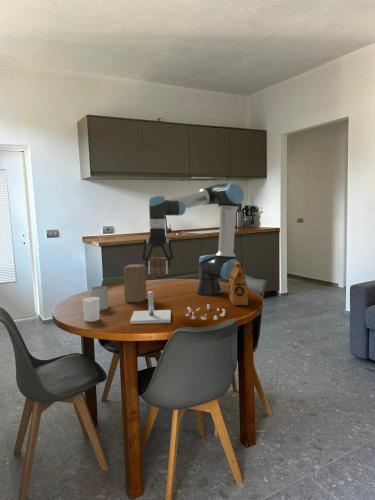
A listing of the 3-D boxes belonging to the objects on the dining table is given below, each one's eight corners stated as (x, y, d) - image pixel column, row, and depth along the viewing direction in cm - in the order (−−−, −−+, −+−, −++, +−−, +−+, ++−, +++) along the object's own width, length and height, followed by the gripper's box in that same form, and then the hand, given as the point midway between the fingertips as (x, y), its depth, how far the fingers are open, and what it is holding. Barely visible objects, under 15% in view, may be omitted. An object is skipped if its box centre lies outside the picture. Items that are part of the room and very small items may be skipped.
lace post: (154, 314, 176) (153, 291, 175) (153, 315, 174) (152, 292, 173) (149, 314, 176) (148, 291, 175) (148, 315, 174) (147, 292, 173)
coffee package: (230, 306, 192) (229, 264, 190) (228, 300, 205) (227, 261, 202) (249, 306, 192) (249, 264, 190) (246, 300, 204) (246, 260, 202)
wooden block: (141, 302, 205) (140, 266, 203) (124, 302, 207) (122, 266, 205) (147, 298, 214) (145, 264, 212) (130, 298, 216) (129, 264, 214)
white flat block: (170, 312, 183) (170, 309, 183) (170, 322, 167) (170, 319, 167) (134, 314, 183) (133, 311, 183) (130, 324, 167) (130, 320, 167)
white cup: (85, 317, 179) (83, 297, 178) (101, 316, 179) (100, 296, 178) (81, 322, 171) (80, 301, 170) (99, 321, 172) (98, 300, 171)
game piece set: (177, 316, 179) (176, 308, 179) (205, 307, 193) (205, 300, 192) (206, 324, 165) (206, 315, 165) (235, 314, 179) (234, 306, 179)
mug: (105, 310, 191) (104, 289, 189) (89, 310, 192) (87, 289, 190) (112, 304, 202) (111, 284, 201) (97, 304, 204) (96, 284, 202)
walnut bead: (166, 272, 189) (166, 257, 189) (165, 275, 181) (165, 259, 181) (150, 272, 189) (150, 257, 188) (149, 275, 181) (149, 259, 180)
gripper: (135, 228, 179) (136, 275, 181) (178, 227, 179) (179, 274, 182) (137, 227, 187) (138, 272, 189) (178, 227, 187) (179, 272, 189)
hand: (158, 273), depth 185 cm, fingers closed on walnut bead, 8 cm apart
